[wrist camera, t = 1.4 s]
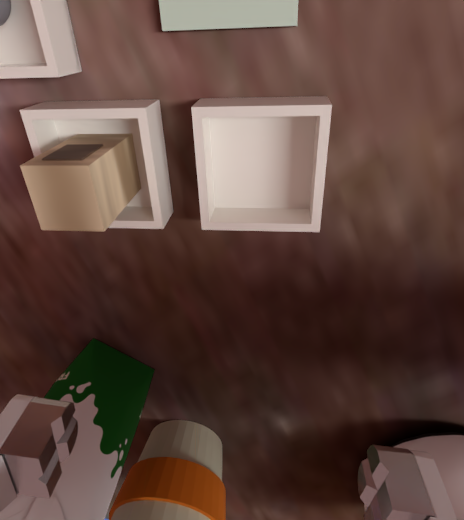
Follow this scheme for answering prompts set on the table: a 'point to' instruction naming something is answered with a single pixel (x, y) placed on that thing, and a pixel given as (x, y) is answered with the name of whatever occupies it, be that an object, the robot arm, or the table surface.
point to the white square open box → (38, 41)
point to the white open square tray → (261, 162)
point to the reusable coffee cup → (175, 476)
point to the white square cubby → (113, 122)
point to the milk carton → (92, 434)
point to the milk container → (443, 462)
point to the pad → (226, 14)
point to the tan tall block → (83, 182)
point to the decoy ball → (4, 10)
